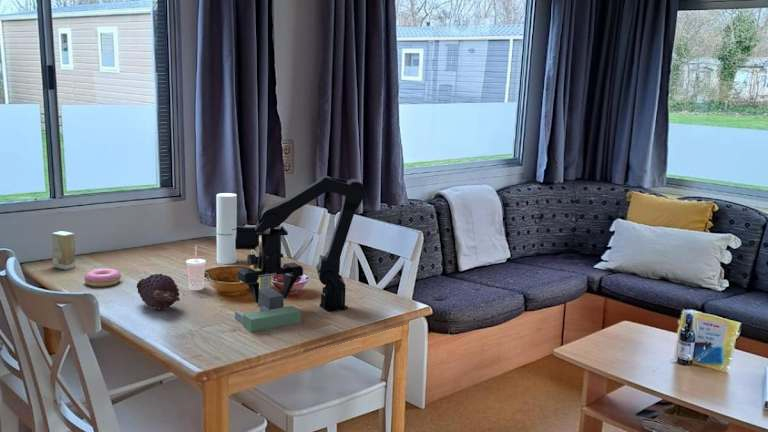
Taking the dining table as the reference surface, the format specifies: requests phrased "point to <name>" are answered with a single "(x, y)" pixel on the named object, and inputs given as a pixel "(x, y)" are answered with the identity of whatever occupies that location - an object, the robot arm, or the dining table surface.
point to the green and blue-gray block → (269, 318)
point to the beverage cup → (196, 272)
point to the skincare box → (63, 250)
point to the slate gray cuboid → (270, 299)
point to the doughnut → (102, 277)
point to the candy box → (263, 281)
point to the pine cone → (158, 291)
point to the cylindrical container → (226, 228)
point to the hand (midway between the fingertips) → (270, 300)
